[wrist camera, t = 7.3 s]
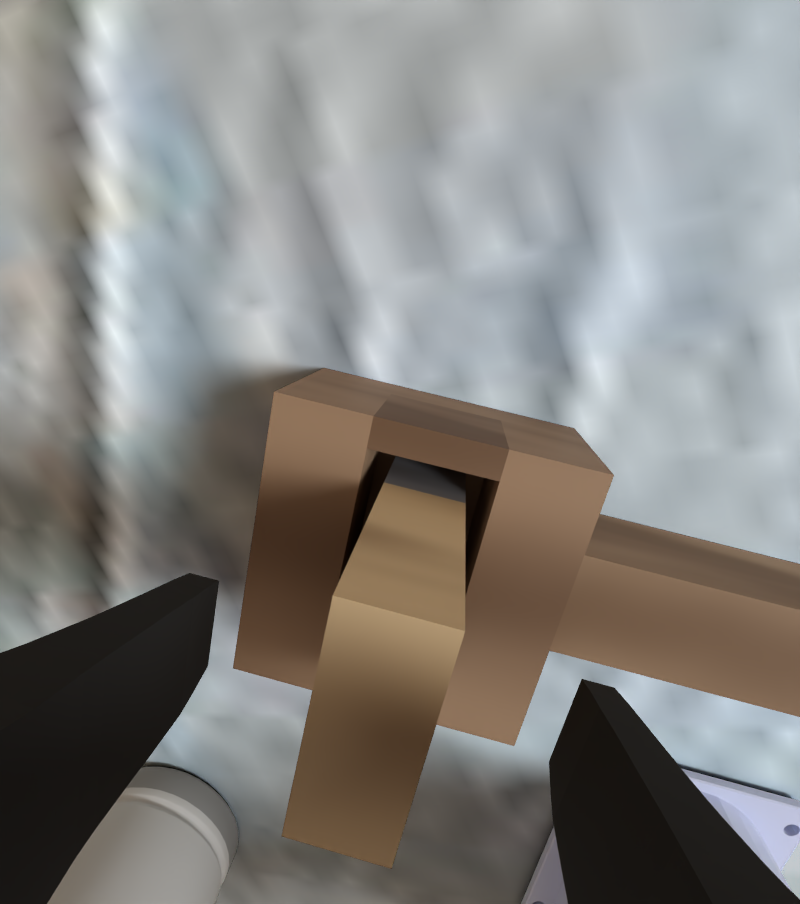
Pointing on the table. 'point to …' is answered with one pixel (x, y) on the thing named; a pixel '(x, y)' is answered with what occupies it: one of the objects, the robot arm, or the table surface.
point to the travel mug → (156, 845)
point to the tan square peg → (383, 667)
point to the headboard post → (505, 558)
